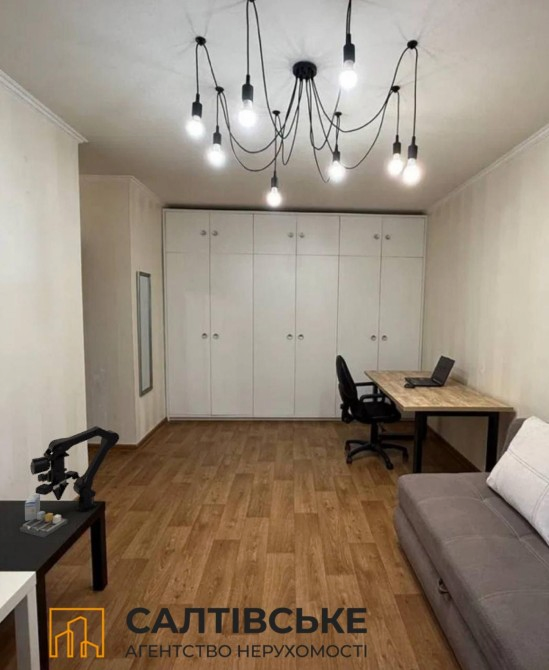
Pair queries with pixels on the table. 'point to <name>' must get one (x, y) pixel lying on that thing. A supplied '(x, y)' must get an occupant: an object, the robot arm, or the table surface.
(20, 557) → the table surface
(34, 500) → the medicine box
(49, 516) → the slider amber
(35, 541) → the table surface
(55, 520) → the slider cream
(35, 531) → the panel
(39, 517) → the slider blue
